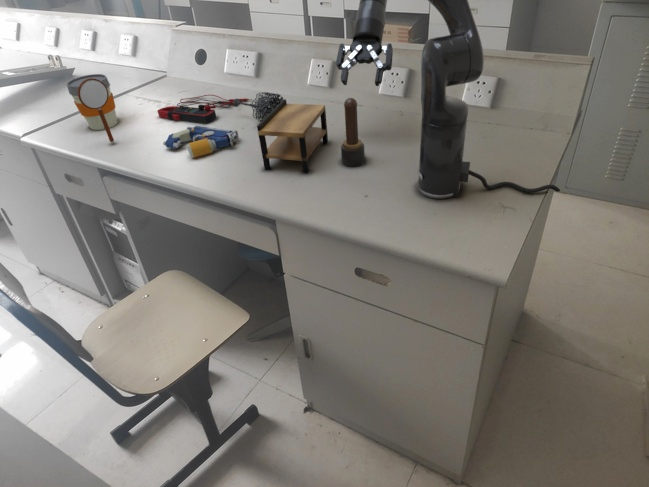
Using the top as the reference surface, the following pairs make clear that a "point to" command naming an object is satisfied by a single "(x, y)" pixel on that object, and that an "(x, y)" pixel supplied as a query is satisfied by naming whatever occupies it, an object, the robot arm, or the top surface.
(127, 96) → the top surface
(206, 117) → the digital clamp meter
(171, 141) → the spray gun
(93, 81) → the magnifying glass
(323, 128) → the tan black-edged stand
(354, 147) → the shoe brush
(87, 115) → the reusable coffee cup
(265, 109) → the massage brush
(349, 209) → the top surface
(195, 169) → the top surface
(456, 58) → the robot arm
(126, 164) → the top surface
